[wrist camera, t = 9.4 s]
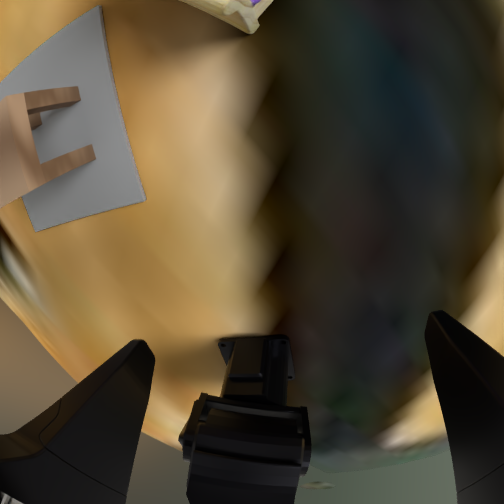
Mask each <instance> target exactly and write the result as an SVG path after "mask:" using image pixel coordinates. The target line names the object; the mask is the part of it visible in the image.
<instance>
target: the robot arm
mask: <svg viewBox="0 0 504 504" xmlns="http://www.w3.org/2000/svg"><path fill="white" fill-rule="evenodd" d="M425 341H426V346H427V350H428V355H429V360H430V365H431V370H432V375H433V380H434V384H435V388H436V392H437V395H438V399H439V402H440V406H441V410H442V414H443V418H444V422H445V427H446V431H447V436H448V441H449V446H450V451H451V456H452V461H453V469H454V475H455V483H456V491H457V503H458V504H504V357H503V356H502V355H501V354H500V353H498V352H497V351H496V350H495V349H493V348H492V347H491V346H490V345H488V344H487V343H486V342H485V341H483V340H482V339H481V338H479V337H478V336H477V335H476V334H474V333H473V332H472V331H470V330H469V329H468V328H466V327H465V326H464V325H462V324H461V323H460V322H458V321H457V320H456V319H454V318H453V317H452V316H450V315H449V314H447V313H446V312H445V311H443V310H438V311H434V312H431V313H430V314H429V316H428V321H427V325H426V329H425ZM218 346H219V349H220V351H221V353H222V356H223V358H224V360H225V363H226V365H227V368H226V373H225V377H224V382H223V386H222V390H221V395H220V397H217V396H212V395H208V394H207V393H202V392H201V395H200V397H199V400H196V401H194V405H193V408H192V412H191V415H190V417H189V419H188V421H187V423H186V425H185V426H184V428H183V430H182V431H181V433H180V435H179V439H178V441H179V442H180V444H181V445H182V447H183V448H182V450H183V460H184V461H186V462H190V465H189V472H188V479H187V492H186V495H187V498H188V500H189V503H190V504H294V499H295V494H296V490H297V486H298V481H299V477H303V476H305V474H306V472H307V470H308V467H309V463H310V458H311V436H310V428H309V420H308V412H307V407H302V406H300V407H290V406H286V403H287V383H288V380H293V379H295V370H294V364H293V358H292V352H291V346H290V340H289V337H287V336H269V337H252V338H229V339H220V340H219V342H218ZM154 366H155V356H154V354H153V352H152V351H151V349H150V348H149V346H148V345H147V343H146V342H145V341H144V340H142V339H134V340H132V341H130V342H129V343H128V344H127V345H125V346H124V347H123V348H122V349H120V350H119V351H118V352H117V353H115V354H114V355H113V356H112V357H110V358H109V359H108V360H107V361H106V362H104V363H103V364H102V365H101V366H99V367H98V368H97V369H96V370H94V371H93V372H92V373H91V374H90V375H88V376H87V377H86V378H85V379H83V380H82V381H81V382H80V383H79V384H77V385H76V386H75V387H74V388H72V389H71V390H70V391H69V392H68V393H66V394H65V395H64V396H63V397H62V398H60V399H59V400H58V401H57V402H55V403H54V404H53V405H52V406H50V407H49V408H48V409H46V410H45V411H44V412H42V413H41V414H40V415H38V416H37V417H35V418H34V419H33V420H31V421H30V422H28V423H27V424H25V425H24V426H22V427H21V428H20V429H18V430H16V431H15V432H13V433H10V434H4V435H0V504H125V503H126V497H127V496H126V495H127V492H128V487H129V482H130V476H131V472H132V467H133V462H134V458H135V454H136V450H137V445H138V441H139V437H140V432H141V429H142V425H143V421H144V417H145V413H146V409H147V405H148V401H149V396H150V390H151V384H152V377H153V372H154Z"/></svg>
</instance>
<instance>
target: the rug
mask: <svg viewBox="0 0 504 504" xmlns="http://www.w3.org/2000/svg"><path fill="white" fill-rule="evenodd" d="M73 86H78V88H79V93H80V98H81V100H80V101H79V102H77V103H75V104H73V105H72V106H70V107H64V108H59V109H54V110H49V111H44V112H40V116H41V120H42V125H40V126H39V127H38V128H36V129H35V130H32V136H33V140H34V144H35V147H36V151H37V155H38V158H39V162H40V164H42V163H44V162H47V161H49V160H51V159H54V158H56V157H59V156H61V155H64V154H66V153H69V152H71V151H74V150H77V149H79V148H82V147H85V146H88V145H91V144H92V146H93V149H94V153H95V156H96V159H95V160H93V161H90V162H88V163H86V164H84V165H81V166H79V167H77V168H75V169H73V170H71V171H69V172H67V173H65V174H63V175H61V176H59V177H57V178H55V179H53V180H51V181H49V182H47V183H45V184H43V185H41V186H39V187H37V188H36V189H34V190H32V191H30V192H28V193H27V194H25V195H23V196H22V199H23V202H24V204H25V207H26V210H27V212H28V215H29V218H30V220H31V223H32V225H33V227H34V230H35V232H37V231H40V230H43V229H47V228H50V227H53V226H56V225H59V224H62V223H66V222H69V221H72V220H76V219H79V218H83V217H86V216H90V215H93V214H97V213H101V212H104V211H108V210H112V209H116V208H119V207H123V206H127V205H131V204H135V203H139V202H144V201H145V200H146V196H145V193H144V190H143V187H142V184H141V180H140V177H139V174H138V171H137V167H136V164H135V161H134V157H133V154H132V150H131V147H130V143H129V139H128V136H127V132H126V128H125V124H124V120H123V117H122V113H121V108H120V104H119V100H118V96H117V91H116V87H115V82H114V78H113V73H112V68H111V63H110V57H109V52H108V46H107V41H106V35H105V28H104V21H103V14H102V6H100V5H98V6H96V7H94V8H93V9H91V10H89V11H88V12H86V13H85V14H83V15H81V16H80V17H78V18H77V19H75V20H74V21H72V22H71V23H70V24H68V25H67V26H65V27H64V28H62V29H61V30H60V31H58V32H57V33H56V34H54V35H53V36H52V37H50V38H49V39H48V40H47V41H45V42H44V43H43V44H42V45H40V46H39V47H38V48H37V49H36V50H35V51H33V52H32V53H31V54H30V55H29V56H28V57H26V58H25V59H24V60H23V61H22V62H21V63H20V64H19V65H18V66H17V67H16V68H15V69H14V70H13V71H12V72H11V73H10V74H9V75H8V76H7V77H6V78H5V79H4V80H3V81H2V82H1V83H0V101H1V100H2V99H3V98H4V97H5V96H8V95H13V94H19V93H24V92H31V91H37V90H44V89H52V88H62V87H73Z"/></svg>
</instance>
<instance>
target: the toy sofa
mask: <svg viewBox="0 0 504 504" xmlns="http://www.w3.org/2000/svg"><path fill="white" fill-rule="evenodd" d="M179 1H182V2H184V3H186V4H189V5H191V6H193V7H195V8H198V9H200V10H202V11H204V12H206V13H208V14H210V15H213V16H215V17H217V18H219V19H221V20H223V21H225V22H227V23H229V24H231V25H233V26H234V27H236V28H238V29H240V30H242V31H244V32H245V33H247V34H253V33H254V32H255V31H256V30H257V28H258V27H259V23H258V20H257V19H258V17H259V16H260V15H261V14H262V12H263V11H264V10H265V9H266V8H267V7H268V6H269V5H270V4H271V3H272V1H273V0H179Z"/></svg>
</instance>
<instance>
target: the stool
mask: <svg viewBox="0 0 504 504" xmlns="http://www.w3.org/2000/svg"><path fill="white" fill-rule="evenodd" d="M80 100H81V98H80V93H79V88H78V86H73V87H62V88H52V89H44V90H37V91H31V92H24V93H19V94H13V95H8V96H5V97H4V98H3V99H2V100H1V101H0V208H2V207H3V206H5V205H7V204H8V203H10V202H12V201H14V200H16V199H17V198H19V197H21V196H23V195H25V194H27V193H28V192H30V191H32V190H34V189H36V188H37V187H39V186H41V185H43V184H45V183H47V182H49V181H51V180H53V179H55V178H57V177H59V176H61V175H63V174H65V173H67V172H69V171H71V170H73V169H75V168H77V167H79V166H81V165H84V164H86V163H88V162H90V161H93V160H95V159H96V156H95V153H94V149H93V146H92V144H91V145H88V146H85V147H82V148H79V149H77V150H74V151H71V152H69V153H66V154H64V155H61V156H59V157H56V158H54V159H51V160H49V161H47V162H44V163H42V164H40V162H39V158H38V155H37V151H36V147H35V144H34V140H33V136H32V130H35V129H36V128H38V127H39V126H40V125H42V120H41V116H40V112H44V111H49V110H54V109H59V108H64V107H70V106H72V105H73V104H75V103H77V102H79V101H80Z"/></svg>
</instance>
